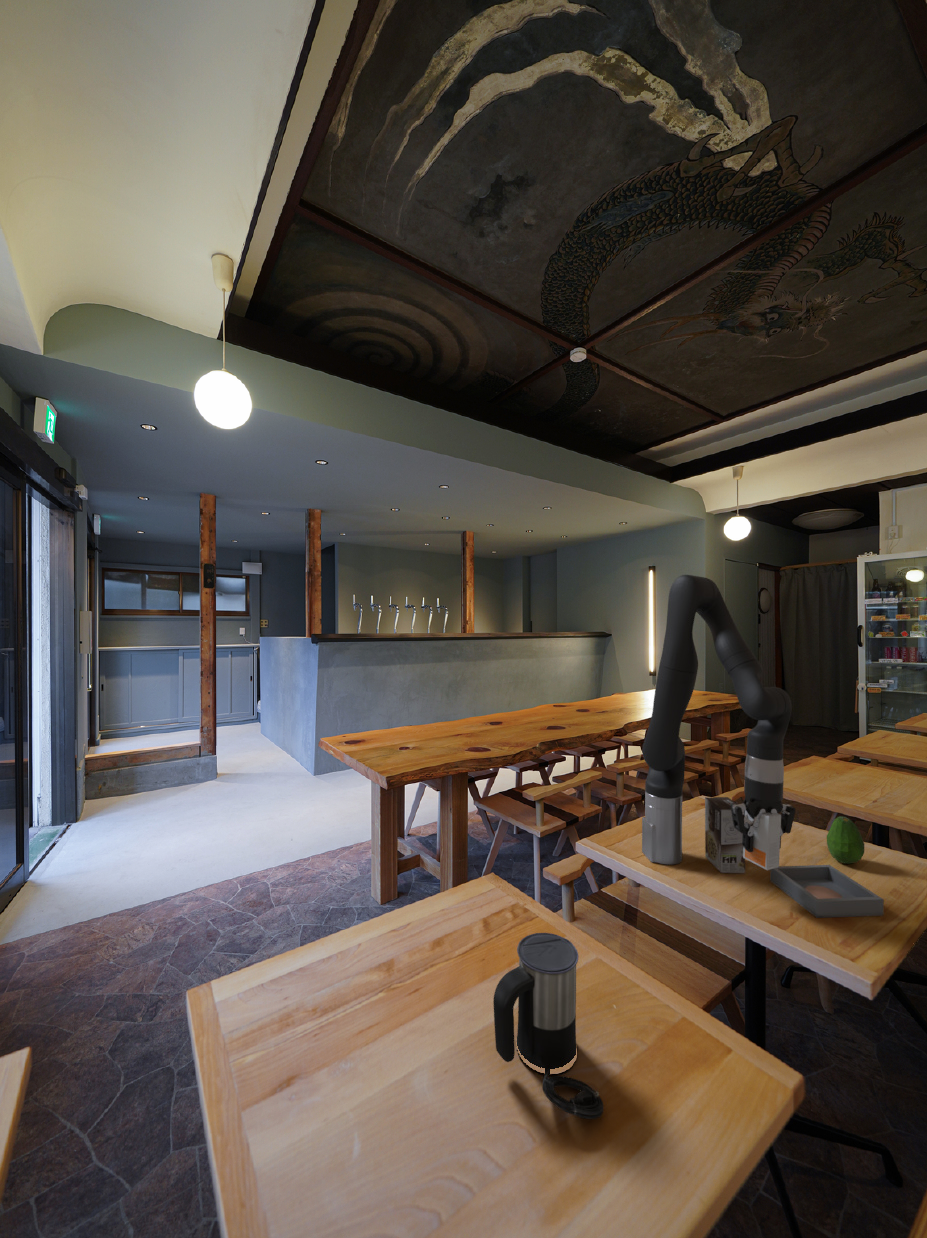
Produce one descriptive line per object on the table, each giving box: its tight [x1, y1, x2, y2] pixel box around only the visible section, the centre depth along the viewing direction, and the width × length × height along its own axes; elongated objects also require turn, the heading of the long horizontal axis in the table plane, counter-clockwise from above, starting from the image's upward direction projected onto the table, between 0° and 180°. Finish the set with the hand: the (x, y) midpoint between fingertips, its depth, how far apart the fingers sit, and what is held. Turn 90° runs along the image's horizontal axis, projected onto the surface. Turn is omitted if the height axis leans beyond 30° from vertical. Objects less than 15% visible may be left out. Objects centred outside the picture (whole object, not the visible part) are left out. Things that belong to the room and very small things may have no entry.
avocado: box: [826, 816, 865, 865], centre depth 133 cm, size 8×8×12 cm
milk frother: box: [493, 932, 604, 1120], centre depth 72 cm, size 14×16×15 cm
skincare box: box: [743, 810, 781, 871], centre depth 114 cm, size 6×4×12 cm
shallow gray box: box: [769, 864, 884, 919], centre depth 117 cm, size 15×15×4 cm
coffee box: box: [704, 796, 746, 874], centre depth 132 cm, size 9×6×16 cm
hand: (761, 850), depth 115 cm, fingers closed on skincare box, 5 cm apart
